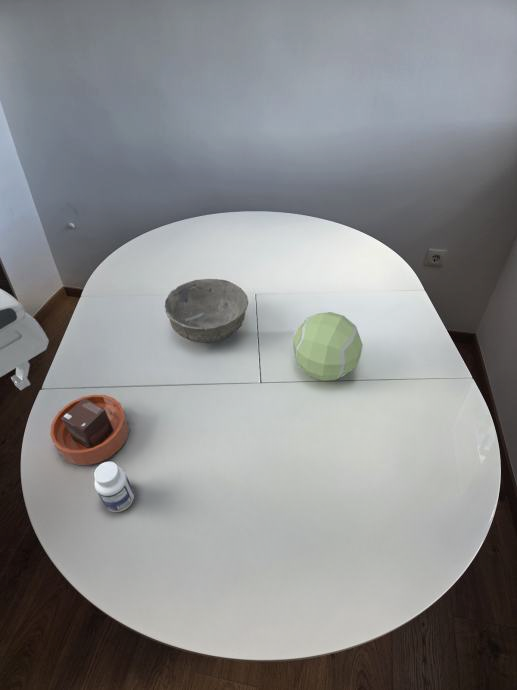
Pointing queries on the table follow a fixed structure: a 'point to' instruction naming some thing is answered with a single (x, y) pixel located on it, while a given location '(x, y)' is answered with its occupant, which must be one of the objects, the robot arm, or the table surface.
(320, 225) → the table surface
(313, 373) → the green ball
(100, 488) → the pill bottle
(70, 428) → the box
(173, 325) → the bowl
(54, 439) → the clay bowl
